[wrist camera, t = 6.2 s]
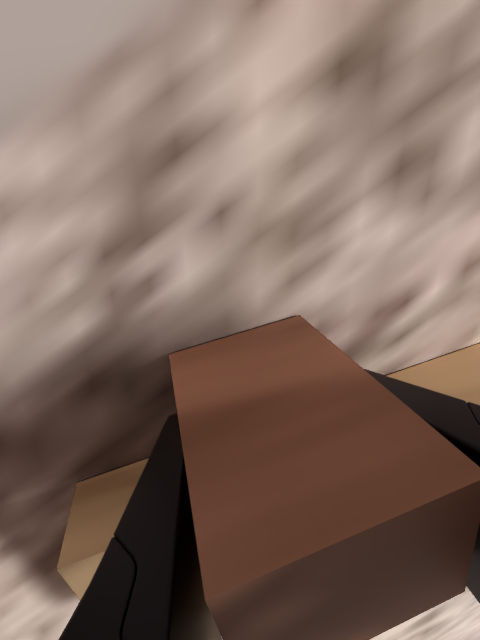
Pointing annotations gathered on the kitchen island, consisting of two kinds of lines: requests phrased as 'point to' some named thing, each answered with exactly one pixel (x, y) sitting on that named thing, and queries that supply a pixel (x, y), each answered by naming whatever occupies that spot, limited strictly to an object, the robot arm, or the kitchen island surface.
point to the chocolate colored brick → (316, 490)
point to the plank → (118, 485)
